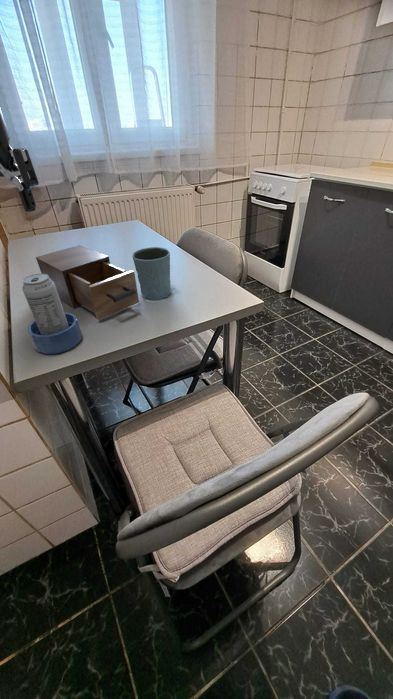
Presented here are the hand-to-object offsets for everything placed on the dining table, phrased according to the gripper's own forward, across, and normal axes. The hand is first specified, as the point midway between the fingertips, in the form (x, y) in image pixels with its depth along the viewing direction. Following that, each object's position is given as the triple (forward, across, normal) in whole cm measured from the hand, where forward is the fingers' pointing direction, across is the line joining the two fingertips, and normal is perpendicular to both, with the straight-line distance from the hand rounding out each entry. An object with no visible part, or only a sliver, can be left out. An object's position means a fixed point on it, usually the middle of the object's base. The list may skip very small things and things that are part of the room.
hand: (13, 210), depth 60 cm
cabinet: (+26, -2, +16) cm, 31 cm away
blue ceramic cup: (+26, +20, +20) cm, 39 cm away
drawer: (+25, +11, +9) cm, 29 cm away
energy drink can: (+26, +7, -8) cm, 28 cm away
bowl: (+26, +7, -8) cm, 28 cm away
